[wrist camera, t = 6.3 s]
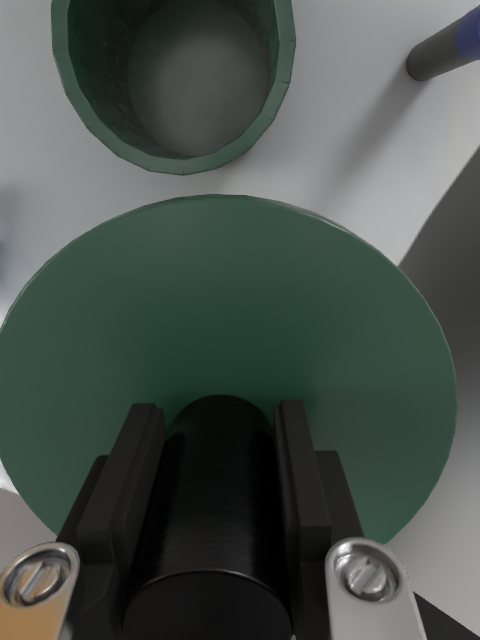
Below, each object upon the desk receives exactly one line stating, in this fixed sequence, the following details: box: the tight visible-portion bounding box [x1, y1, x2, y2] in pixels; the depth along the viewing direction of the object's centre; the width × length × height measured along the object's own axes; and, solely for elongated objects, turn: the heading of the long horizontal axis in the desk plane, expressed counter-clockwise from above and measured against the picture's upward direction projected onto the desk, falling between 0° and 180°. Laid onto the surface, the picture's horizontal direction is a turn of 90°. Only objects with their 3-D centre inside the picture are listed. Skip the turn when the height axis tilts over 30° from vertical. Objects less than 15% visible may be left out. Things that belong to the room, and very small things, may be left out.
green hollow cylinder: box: [51, 0, 296, 176], centre depth 26 cm, size 12×12×12 cm
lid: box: [0, 194, 458, 640], centre depth 10 cm, size 13×13×7 cm
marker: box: [407, 5, 480, 81], centre depth 26 cm, size 2×2×10 cm
